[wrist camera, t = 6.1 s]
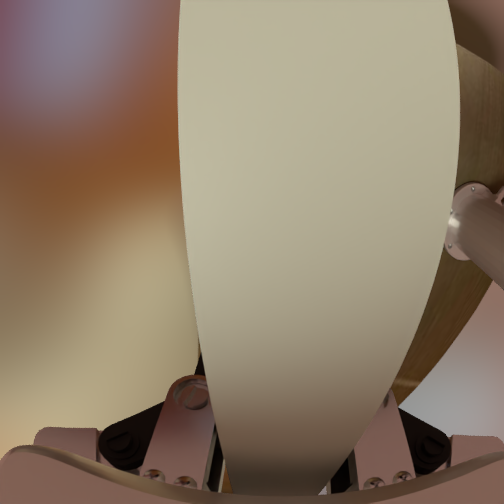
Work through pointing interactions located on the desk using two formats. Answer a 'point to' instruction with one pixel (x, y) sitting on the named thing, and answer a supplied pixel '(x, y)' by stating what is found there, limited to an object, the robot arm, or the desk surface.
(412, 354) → the desk surface
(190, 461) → the robot arm
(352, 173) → the beige rectangular panel
